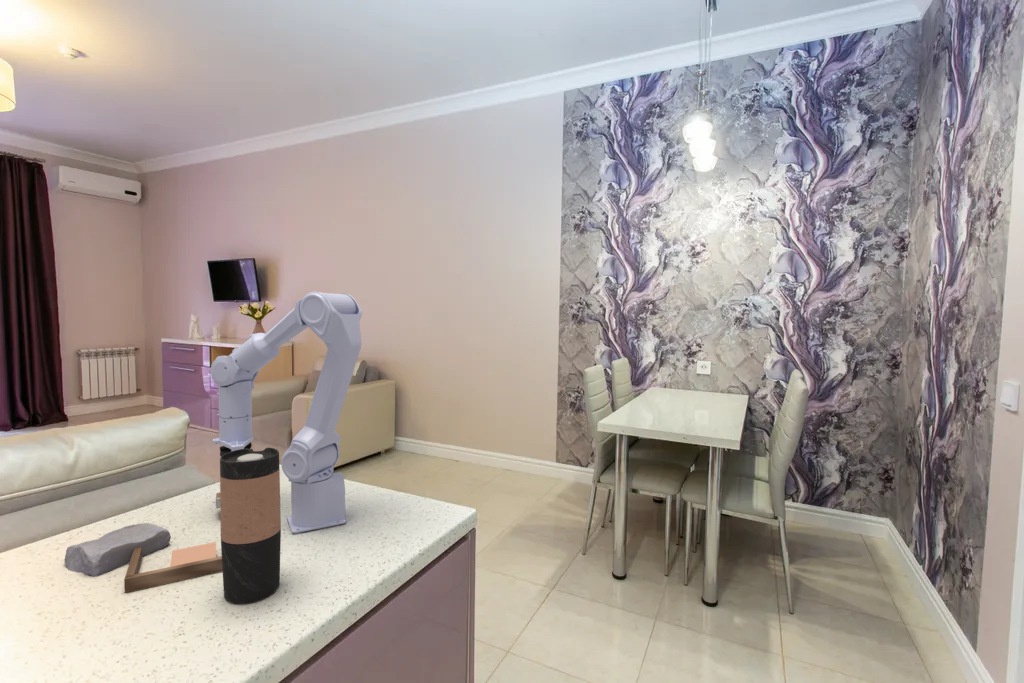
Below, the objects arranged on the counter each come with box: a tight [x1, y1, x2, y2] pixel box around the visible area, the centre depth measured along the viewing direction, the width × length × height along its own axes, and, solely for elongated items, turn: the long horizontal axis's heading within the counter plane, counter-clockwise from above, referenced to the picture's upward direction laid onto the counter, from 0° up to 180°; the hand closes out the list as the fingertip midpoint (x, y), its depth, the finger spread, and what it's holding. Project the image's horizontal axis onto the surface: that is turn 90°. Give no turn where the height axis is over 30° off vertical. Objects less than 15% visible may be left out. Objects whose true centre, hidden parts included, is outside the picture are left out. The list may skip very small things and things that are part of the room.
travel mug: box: [219, 447, 282, 605], centre depth 71 cm, size 8×8×20 cm
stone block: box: [64, 522, 172, 577], centre depth 81 cm, size 12×5×10 cm
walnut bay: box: [123, 547, 223, 594], centre depth 79 cm, size 16×10×2 cm, turn 121°
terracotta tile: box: [169, 541, 217, 567], centre depth 79 cm, size 6×6×2 cm
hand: (236, 482), depth 99 cm, fingers closed on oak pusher, 2 cm apart
